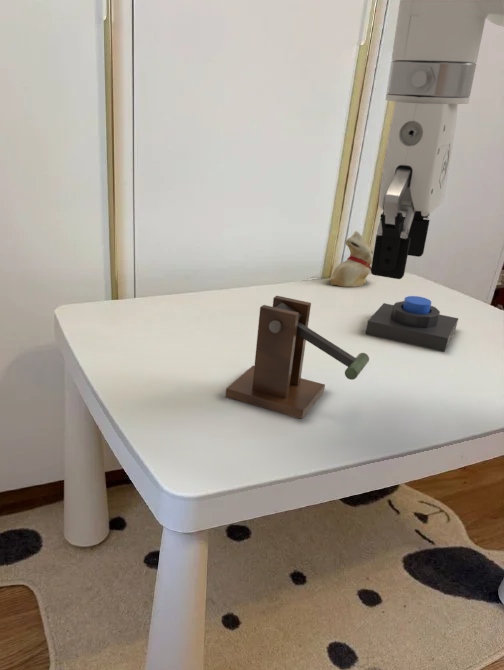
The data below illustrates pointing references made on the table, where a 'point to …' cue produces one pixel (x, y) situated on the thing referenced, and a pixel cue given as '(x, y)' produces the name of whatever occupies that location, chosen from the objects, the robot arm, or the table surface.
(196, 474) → the table surface
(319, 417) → the table surface
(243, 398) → the lever bracket
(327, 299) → the table surface
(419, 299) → the blue button
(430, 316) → the button block
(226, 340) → the table surface
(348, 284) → the chocolate bunny
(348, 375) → the light lever
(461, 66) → the robot arm
